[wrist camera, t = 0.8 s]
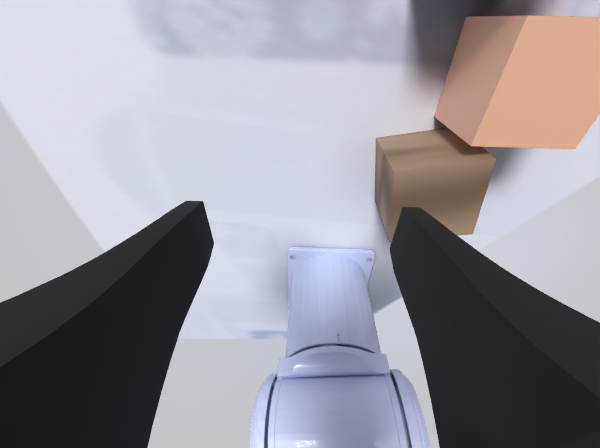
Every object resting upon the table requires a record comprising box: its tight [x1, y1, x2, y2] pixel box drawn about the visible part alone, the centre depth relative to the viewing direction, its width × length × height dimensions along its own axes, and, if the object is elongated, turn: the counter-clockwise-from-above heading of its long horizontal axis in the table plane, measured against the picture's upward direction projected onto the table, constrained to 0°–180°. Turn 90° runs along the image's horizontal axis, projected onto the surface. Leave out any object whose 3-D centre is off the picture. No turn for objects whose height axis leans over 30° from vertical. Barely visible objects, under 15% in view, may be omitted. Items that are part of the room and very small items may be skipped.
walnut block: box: [375, 128, 496, 242], centre depth 17 cm, size 5×5×5 cm
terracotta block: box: [434, 16, 600, 149], centre depth 13 cm, size 5×5×5 cm
